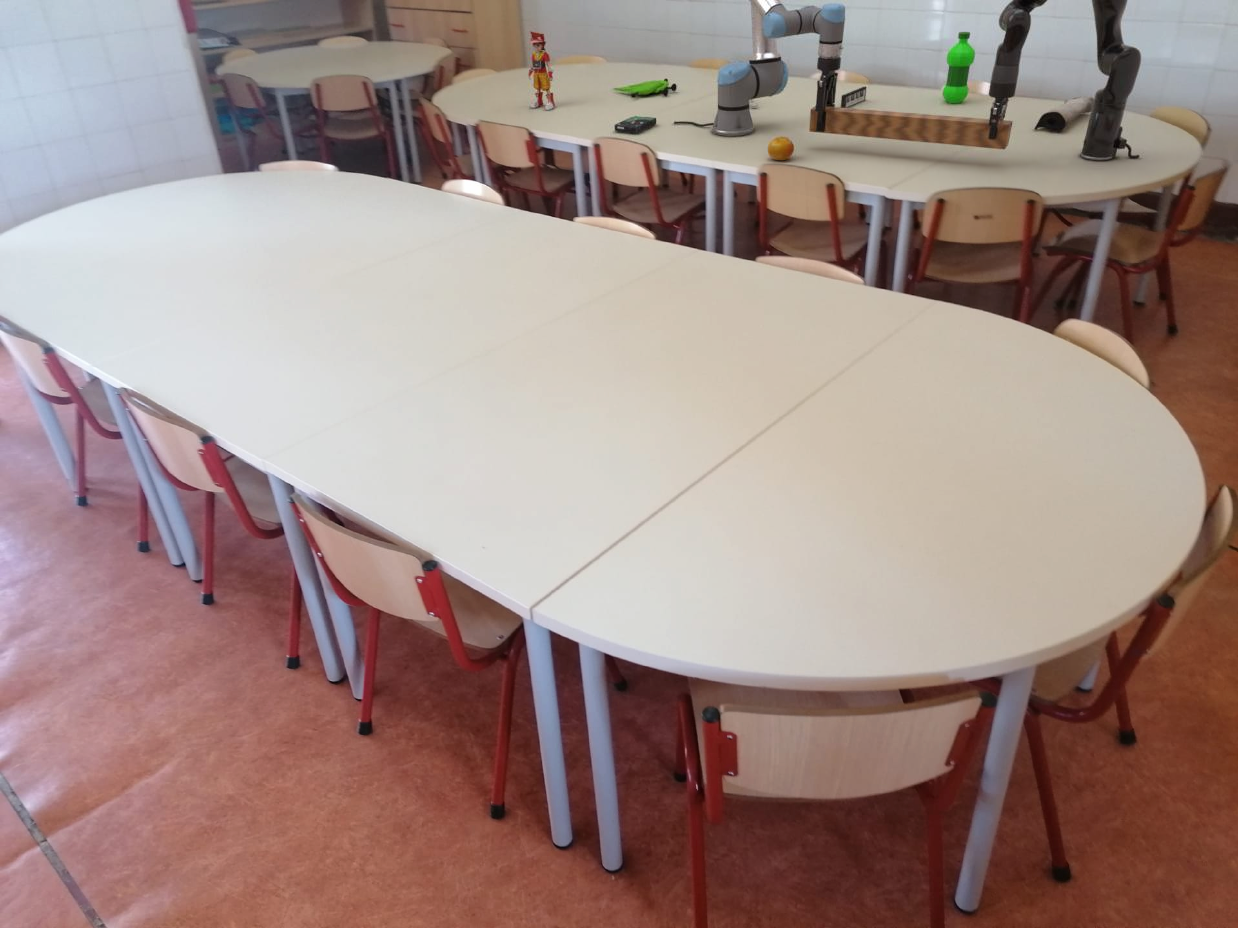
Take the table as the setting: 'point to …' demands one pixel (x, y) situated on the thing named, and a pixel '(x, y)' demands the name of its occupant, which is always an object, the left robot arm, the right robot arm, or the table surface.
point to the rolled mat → (1065, 114)
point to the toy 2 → (648, 88)
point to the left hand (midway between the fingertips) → (823, 129)
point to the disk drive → (635, 124)
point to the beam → (913, 127)
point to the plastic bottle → (958, 69)
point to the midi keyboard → (853, 97)
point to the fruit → (780, 148)
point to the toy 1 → (541, 71)
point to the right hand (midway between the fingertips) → (994, 136)
